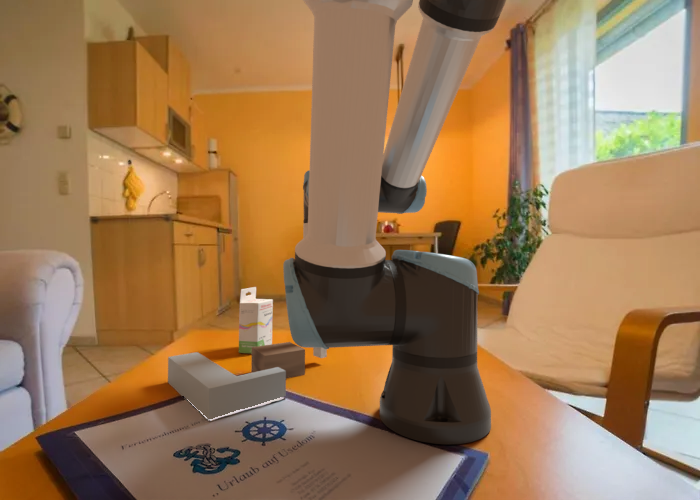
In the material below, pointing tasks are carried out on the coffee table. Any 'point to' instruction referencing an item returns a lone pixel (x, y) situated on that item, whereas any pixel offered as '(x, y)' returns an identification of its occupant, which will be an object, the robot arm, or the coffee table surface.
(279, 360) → the walnut block
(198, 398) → the gray l-shaped block
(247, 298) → the ink box
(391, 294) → the robot arm
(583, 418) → the coffee table surface
